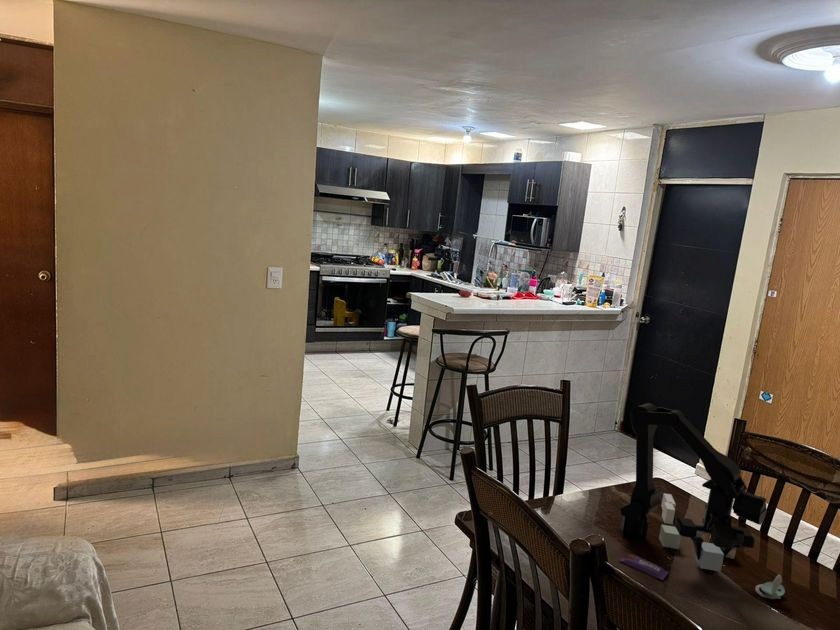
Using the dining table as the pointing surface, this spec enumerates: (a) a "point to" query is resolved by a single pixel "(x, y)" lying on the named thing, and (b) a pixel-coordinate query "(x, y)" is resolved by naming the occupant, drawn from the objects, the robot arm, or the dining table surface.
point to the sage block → (669, 537)
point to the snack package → (644, 566)
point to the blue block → (710, 557)
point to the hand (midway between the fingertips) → (708, 560)
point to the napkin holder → (668, 508)
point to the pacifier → (771, 589)
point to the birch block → (731, 554)
